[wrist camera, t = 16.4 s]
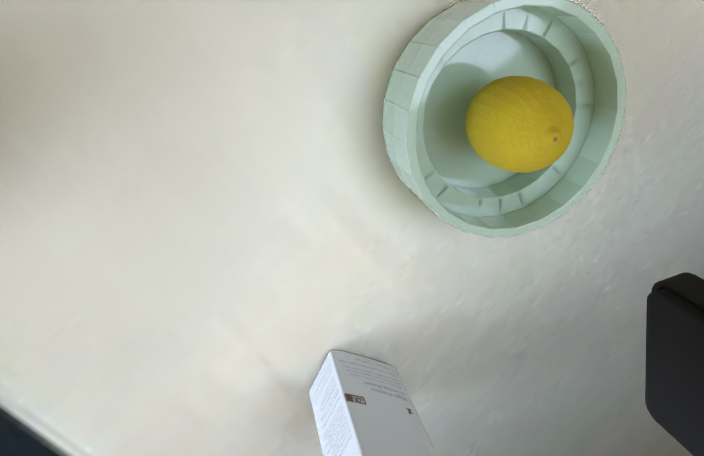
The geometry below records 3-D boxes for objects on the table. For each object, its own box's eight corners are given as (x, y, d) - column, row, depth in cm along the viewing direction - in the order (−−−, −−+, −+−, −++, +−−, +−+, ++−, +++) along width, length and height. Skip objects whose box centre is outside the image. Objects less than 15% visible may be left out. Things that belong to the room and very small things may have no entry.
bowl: (339, 152, 35) (359, 174, 30) (461, -54, 32) (503, -64, 27) (496, 240, 40) (533, 270, 36) (612, 72, 38) (668, 80, 33)
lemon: (440, 81, 34) (503, 101, 27) (519, 59, 35) (601, 73, 28) (451, 162, 36) (512, 201, 29) (525, 141, 37) (602, 173, 30)
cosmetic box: (396, 364, 42) (463, 487, 32) (372, 409, 44) (428, 543, 33) (326, 346, 40) (372, 472, 29) (302, 394, 41) (338, 533, 30)
